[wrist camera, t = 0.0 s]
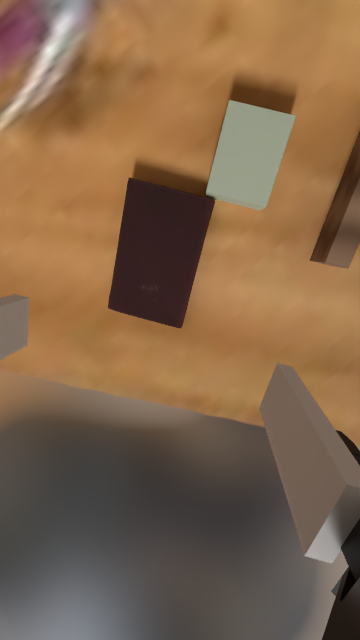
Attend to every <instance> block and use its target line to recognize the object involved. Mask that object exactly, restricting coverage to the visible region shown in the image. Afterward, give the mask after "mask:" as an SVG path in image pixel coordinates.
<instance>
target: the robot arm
mask: <svg viewBox="0 0 360 640" xmlns="http://www.w3.org/2000/svg"><path fill="white" fill-rule="evenodd" d="M28 314H29V298H28V297H24V296H20V295H16V294H14V295H10V296H6V297H2V298H0V360H1V359H3V358H5V357H7V356H8V355H10V354H12V353H14V352H16V351H18V350H19V349H21V348H23V347H25V346H27V337H28ZM260 412H261V415H262V418H263V421H264V425H265V428H266V431H267V434H268V438H269V441H270V444H271V448H272V451H273V454H274V457H275V461H276V464H277V467H278V470H279V474H280V477H281V480H282V483H283V487H284V490H285V493H286V496H287V500H288V503H289V506H290V510H291V513H292V516H293V519H294V523H295V526H296V529H297V532H298V536H299V539H300V542H301V546H302V549H303V552H304V555H305V556H307V557H310V558H314V559H317V560H321V561H324V562H328V563H333V561H334V559H335V558H336V556H337V555H338V554H339V552H340V550H341V549H342V552H343V554H344V556H345V559H346V561H347V563H348V565H349V567H348V568H347V570H346V571H345V573H344V574H343V575H342V577H341V579H340V580H339V581H338V583H337V584H336V585H335V587H334V588H333V590H332V593H333V594H334V595H335V596H336V598H335V601H334V604H333V607H332V610H331V613H330V617H329V620H328V623H327V626H326V629H325V632H324V635H323V638H322V640H360V451H359V449H358V448H357V447H356V445H355V444H354V443H353V442H352V441H351V440H350V439H349V438H348V437H347V436H345V435H344V434H343V433H342V432H341V431H337V430H335V429H334V427H333V426H332V424H331V423H330V421H329V420H328V418H327V417H326V415H325V414H324V413H323V411H322V410H321V408H320V407H319V405H318V404H317V402H316V401H315V399H314V398H313V396H312V395H311V393H310V392H309V390H308V389H307V388H306V386H305V385H304V383H303V382H302V380H301V379H300V377H299V376H298V374H297V373H296V371H295V370H294V368H293V367H291V366H287V365H284V364H280V363H277V365H276V367H275V370H274V372H273V375H272V377H271V380H270V382H269V385H268V387H267V390H266V392H265V395H264V398H263V400H262V403H261V405H260Z"/></svg>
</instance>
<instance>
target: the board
mask: <svg viewBox="0 0 360 640" xmlns="http://www.w3.org/2000/svg"><path fill="white" fill-rule="evenodd" d="M359 243H360V133H359V136H358V138H357V141H356V143H355V146H354V148H353V151H352V154H351V156H350V159H349V161H348V164H347V167H346V169H345V172H344V174H343V177H342V179H341V182H340V185H339V187H338V190H337V192H336V195H335V197H334V200H333V203H332V205H331V208H330V210H329V213H328V215H327V218H326V221H325V223H324V226H323V228H322V231H321V234H320V236H319V239H318V241H317V244H316V246H315V249H314V252H313V254H312V257H311V259H310V261H314V262H318V263H322V264H326V265H331V266H336V267H342V268H349V266H350V263H351V261H352V259H353V257H354V254H355V252H356V250H357V248H358V245H359Z"/></svg>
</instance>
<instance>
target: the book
mask: <svg viewBox="0 0 360 640" xmlns="http://www.w3.org/2000/svg"><path fill="white" fill-rule="evenodd" d="M214 203H215V201H214V200H213V199H210V198H206V197H202V196H198V195H195V194H191V193H187V192H183V191H180V190H176V189H172V188H168V187H165V186H160V185H156V184H152V183H149V182H144V181H140V180H137V179H133V178H129V180H128V184H127V191H126V197H125V204H124V210H123V216H122V223H121V228H120V235H119V242H118V249H117V255H116V261H115V266H114V273H113V279H112V286H111V291H110V296H109V303H108V308H109V309H112V310H115V311H118V312H121V313H124V314H128V315H132V316H136V317H139V318H143V319H146V320H150V321H154V322H157V323H161V324H165V325H169V326H173V327H177V328H181V327H182V325H183V321H184V317H185V314H186V309H187V306H188V301H189V297H190V293H191V289H192V285H193V281H194V278H195V274H196V270H197V266H198V262H199V259H200V255H201V251H202V247H203V243H204V239H205V236H206V232H207V229H208V225H209V221H210V218H211V214H212V211H213V207H214Z"/></svg>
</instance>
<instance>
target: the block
mask: <svg viewBox="0 0 360 640" xmlns="http://www.w3.org/2000/svg"><path fill="white" fill-rule="evenodd" d="M295 117H296V116H295V115H291V114H287V113H282V112H278V111H274V110H270V109H266V108H261V107H257V106H253V105H249V104H245V103H240V102H236V101H232V100H229V103H228V107H227V111H226V115H225V119H224V122H223V126H222V130H221V134H220V138H219V142H218V146H217V150H216V154H215V158H214V162H213V166H212V170H211V174H210V178H209V182H208V186H207V190H206V197H209V198H213V199H217V200H221V201H225V202H229V203H233V204H237V205H241V206H245V207H248V208H252V209H256V210H260V211H261V210H262V209H264V208H265V207H266V206H267V203H268V200H269V197H270V194H271V191H272V188H273V185H274V181H275V178H276V175H277V172H278V169H279V166H280V163H281V160H282V157H283V154H284V151H285V148H286V145H287V142H288V139H289V136H290V132H291V129H292V126H293V123H294V120H295Z"/></svg>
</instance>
